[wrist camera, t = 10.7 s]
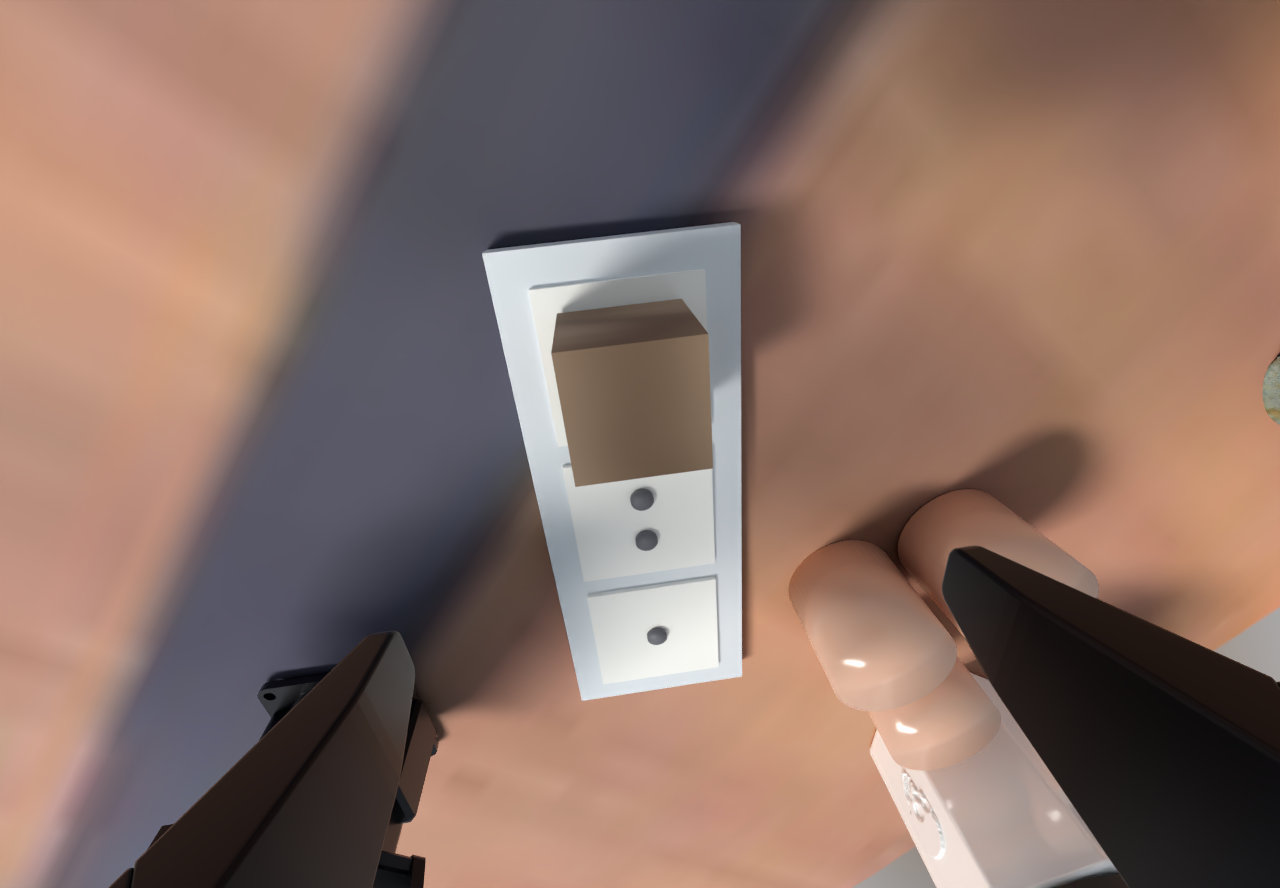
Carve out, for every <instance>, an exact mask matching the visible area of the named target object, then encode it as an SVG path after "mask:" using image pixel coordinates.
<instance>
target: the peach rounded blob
mask: <svg viewBox="0 0 1280 888" xmlns="http://www.w3.org/2000/svg"><path fill="white" fill-rule="evenodd" d="M973 545H975V546H981V547H984V548H986V549H988V550H990V551H993V552H995V553H997V554H999V555H1001V556H1004V557H1006V558H1008V559H1010V560H1013V561H1015V562H1017V563H1019V564H1021V565H1024V566H1026V567H1028V568H1030V569H1032V570H1035V571H1037V572H1039V573H1041V574H1044V575H1046V576H1048V577H1050V578H1052V579H1055V580H1057V581H1059V582H1061V583H1064V584H1066V585H1068V586H1070V587H1072V588H1075V589H1077V590H1079V591H1081V592H1083V593H1086V594H1088V595H1090V596H1092V597H1095V598H1098V593H1099V585H1098V581H1097V579H1096V577H1095V575H1094V574H1093V573H1092V572H1091V571H1090V570H1089V569H1088V568H1086V567H1085V566H1084V565H1082V564H1081V563H1080V562H1078V561H1077V560H1076V559H1074V558H1073V557H1072V556H1070V555H1069V554H1068V553H1066V552H1065V551H1064V550H1063V549H1061V548H1060V547H1059V546H1057V545H1056V544H1055V543H1053V542H1052V541H1051V540H1049V539H1048V538H1047V537H1045V536H1044V535H1043V534H1041V533H1040V532H1039V531H1038V530H1036V529H1035V528H1034V527H1032V526H1031V525H1030V524H1028V523H1027V522H1026V521H1024V520H1023V519H1022V518H1020V517H1019V516H1018V515H1017V514H1015V513H1014V512H1013V511H1011V510H1010V509H1009V508H1007V507H1006V506H1005V505H1003V504H1002V503H1001V502H999V501H998V500H997V499H995V498H994V497H993V496H991V495H990V494H988V493H986V492H984V491H981V490H976V489H962V490H956V491H952V492H949V493H946V494H943V495H941V496H939V497H937V498H935V499H933V500H931V501H930V502H928V503H927V504H925V505H924V506H923V507H922V508H920V509H919V510H918V511H917V512H916V513H915V514H914V515H913V516H912V517H911V518H910V520H909V521H908V522H907V524H906V525H905V527H904V529H903V531H902V533H901V535H900V538H899V542H898V556H899V560H900V562H901V564H902V565H903V566H904V568H905V569H906V570H907V571H908V572H909V573H910V575H911V576H912V577H913V578H914V579H915V580H916V582H917V583H918V584H919V585H920V586H921V587H922V589H923V590H924V591H925V592H926V593H927V594H928V595H929V597H930V598H931V599H932V600H933V601H934V602H935V604H936V605H937V606H938V607H939V608H940V609H941V611H942V612H943V613H944V614H945V615H946V616H947V618H948V619H949V620H950V621H951V622H952V623H953V625H954V626H955V627H956V628H957V629H958V630H959V632H960V633H961V634H962V635H963V633H962V631H961V629H960V627H959V626H958V624H957V622H956V620H955V618H954V616H953V615H952V613H951V611H950V609H949V607H948V606H947V604H946V602H945V600H944V597H943V594H942V581H943V577H944V573H945V568H946V564H947V560H948V556H949V553H950V552H951V551H952V550H953V549H955V548H959V547H966V546H973ZM963 636H964V635H963ZM965 639H966V638H965Z"/></svg>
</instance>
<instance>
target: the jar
mask: <svg viewBox="0 0 1280 888" xmlns="http://www.w3.org/2000/svg"><path fill="white" fill-rule="evenodd" d="M970 674H971V675H972V676H973V677H974V679H975V680H976V681H977V683H978V684H979V685H980V687H981V688H982V689H983V690H984V692H985V693H986V694H987V696H988V697H989V698H990V700H991V701H992V702H993V703H994V705H995V706H996V707H997V709H998V710H999V712H1000V714H1001V725H1000V728H999V730H998V732H997V734H996V735H995V737H994V738H993V739H992V741H991V742H990V743H989V744H988V745H987V746H985V747H984V748H983V749H982V750H981V751H979V752H978V753H976V754H975V755H973V756H971V757H970V758H968V759H966V760H964V761H962V762H959V763H957V764H954V765H951V766H948V767H944V768H940V769H935V770H911V769H907V768H904V767H902V766H900V765H899V764H897V763H896V762H895V761H894V760H893V758H892V757H891V755H890V753H889V751H888V749H887V747H886V745H885V743H884V742H883V740H882V738H881V736H880V734H879V732H878V730H877V729H876V732H875V735H874V738H873V741H872V744H871V747H870V754H871V756H872V758H873V760H874V762H875V764H876V766H877V768H878V770H879V772H880V774H881V776H882V778H883V780H884V783H885V785H886V787H887V789H888V791H889V793H890V795H891V797H892V799H893V801H894V803H895V805H896V807H897V809H898V811H899V813H900V815H901V817H902V819H903V821H904V823H905V825H906V827H907V829H908V831H909V833H910V835H911V837H912V839H913V841H914V843H915V845H916V847H917V849H918V851H919V853H920V855H921V857H922V859H923V861H924V863H925V865H926V867H927V869H928V871H929V873H930V875H931V878H932V880H933V882H934V884H935V886H936V888H1129V887H1128V886H1127V884H1126V883H1125V882H1124V880H1123V879H1122V877H1121V876H1120V874H1119V873H1118V871H1117V870H1116V868H1115V867H1114V865H1113V864H1112V862H1111V861H1110V859H1109V858H1108V856H1107V855H1106V854H1105V852H1104V851H1103V849H1102V848H1101V846H1100V845H1099V843H1098V842H1097V840H1096V839H1095V837H1094V836H1093V834H1092V833H1091V831H1090V830H1089V829H1088V827H1087V826H1086V824H1085V823H1084V821H1083V820H1082V818H1081V817H1080V815H1079V814H1078V812H1077V811H1076V809H1075V808H1074V806H1073V805H1072V803H1071V802H1070V801H1069V799H1068V798H1067V796H1066V795H1065V793H1064V792H1063V790H1062V789H1061V787H1060V786H1059V784H1058V783H1057V781H1056V780H1055V778H1054V777H1053V776H1052V774H1051V773H1050V771H1049V770H1048V768H1047V767H1046V765H1045V764H1044V762H1043V761H1042V759H1041V758H1040V756H1039V755H1038V753H1037V752H1036V750H1035V749H1034V748H1033V746H1032V745H1031V743H1030V742H1029V740H1028V739H1027V737H1026V736H1025V734H1024V733H1023V731H1022V730H1021V728H1020V727H1019V725H1018V724H1017V723H1016V721H1015V720H1014V718H1013V717H1012V715H1011V714H1010V712H1009V711H1008V709H1007V708H1006V706H1005V705H1004V703H1003V702H1002V700H1001V699H1000V697H999V696H998V694H997V693H996V691H995V690H994V688H993V687H992V685H991V683H990V681H989V680H988V679H985V678H983V677H980V676H978V675H975V674H973V673H970Z"/></svg>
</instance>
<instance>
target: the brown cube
mask: <svg viewBox="0 0 1280 888" xmlns="http://www.w3.org/2000/svg"><path fill="white" fill-rule="evenodd" d="M551 355H552V360H553V366H554V371H555V377H556V382H557V388H558V394H559V399H560V405H561V410H562V416H563V421H564V427H565V432H566V438H567V443H568V449H569V455H570V460H571V466H572V471H573V477H574V482H575V487H579V486H587V485H594V484H601V483H609V482H616V481H624V480H631V479H639V478H646V477H653V476H661V475H668V474H676V473H683V472H690V471H698V470H705V469H713V453H712V423H711V393H710V363H709V334H708V333H707V331H706V330H705V329H704V327H703V326H702V325H701V323H700V322H699V321H698V319H697V318H696V317H695V315H694V314H693V313H692V312H691V310H690V309H689V308H688V306H687V305H686V304H685V302H684V301H683V300H682V299H674V300H666V301H657V302H649V303H640V304H632V305H624V306H615V307H607V308H599V309H590V310H582V311H574V312H565V313H557V316H556V323H555V330H554V337H553V344H552V351H551Z"/></svg>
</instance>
